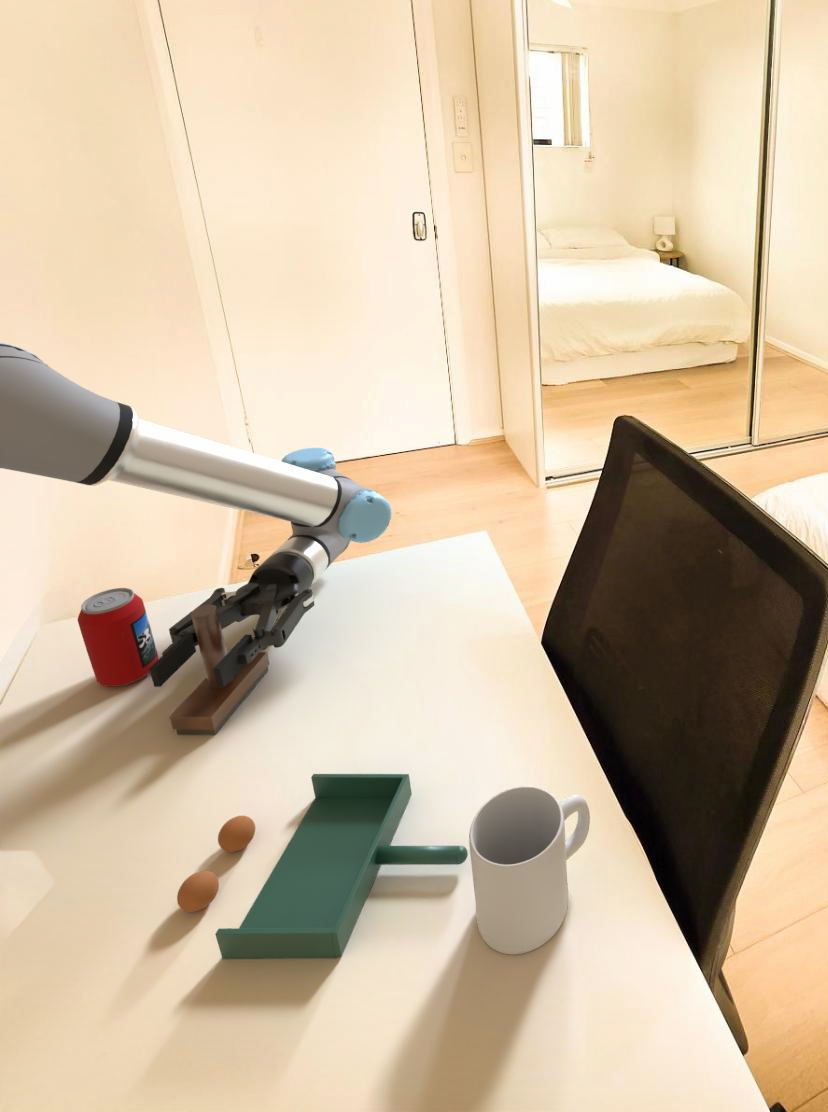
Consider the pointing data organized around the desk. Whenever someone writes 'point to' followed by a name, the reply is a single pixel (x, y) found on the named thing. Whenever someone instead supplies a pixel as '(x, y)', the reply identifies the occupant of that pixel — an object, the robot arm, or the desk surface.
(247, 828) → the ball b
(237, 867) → the desk surface
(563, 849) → the mug
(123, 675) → the beverage can
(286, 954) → the dustpan
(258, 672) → the brush
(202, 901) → the brown egg
